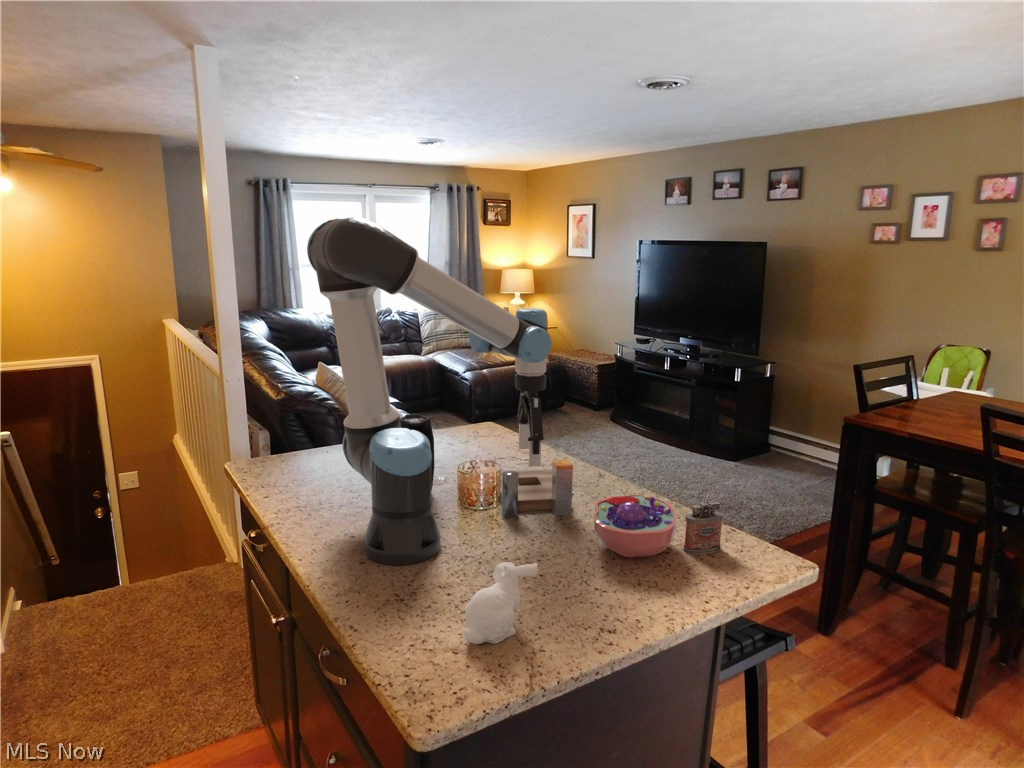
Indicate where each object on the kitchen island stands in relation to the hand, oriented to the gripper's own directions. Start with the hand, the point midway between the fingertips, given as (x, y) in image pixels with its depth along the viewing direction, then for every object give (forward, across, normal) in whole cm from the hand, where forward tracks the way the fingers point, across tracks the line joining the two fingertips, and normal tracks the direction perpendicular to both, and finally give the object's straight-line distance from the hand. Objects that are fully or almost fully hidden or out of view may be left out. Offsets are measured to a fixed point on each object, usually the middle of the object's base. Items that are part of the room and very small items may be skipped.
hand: (529, 457), depth 155 cm
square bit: (+9, -14, -5) cm, 17 cm away
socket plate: (+9, -2, 0) cm, 9 cm away
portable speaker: (+9, +1, +28) cm, 30 cm away
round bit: (+9, -14, +7) cm, 18 cm away
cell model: (+9, -34, -15) cm, 38 cm away
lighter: (+9, -36, -29) cm, 47 cm away
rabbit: (+9, -57, +16) cm, 60 cm away
